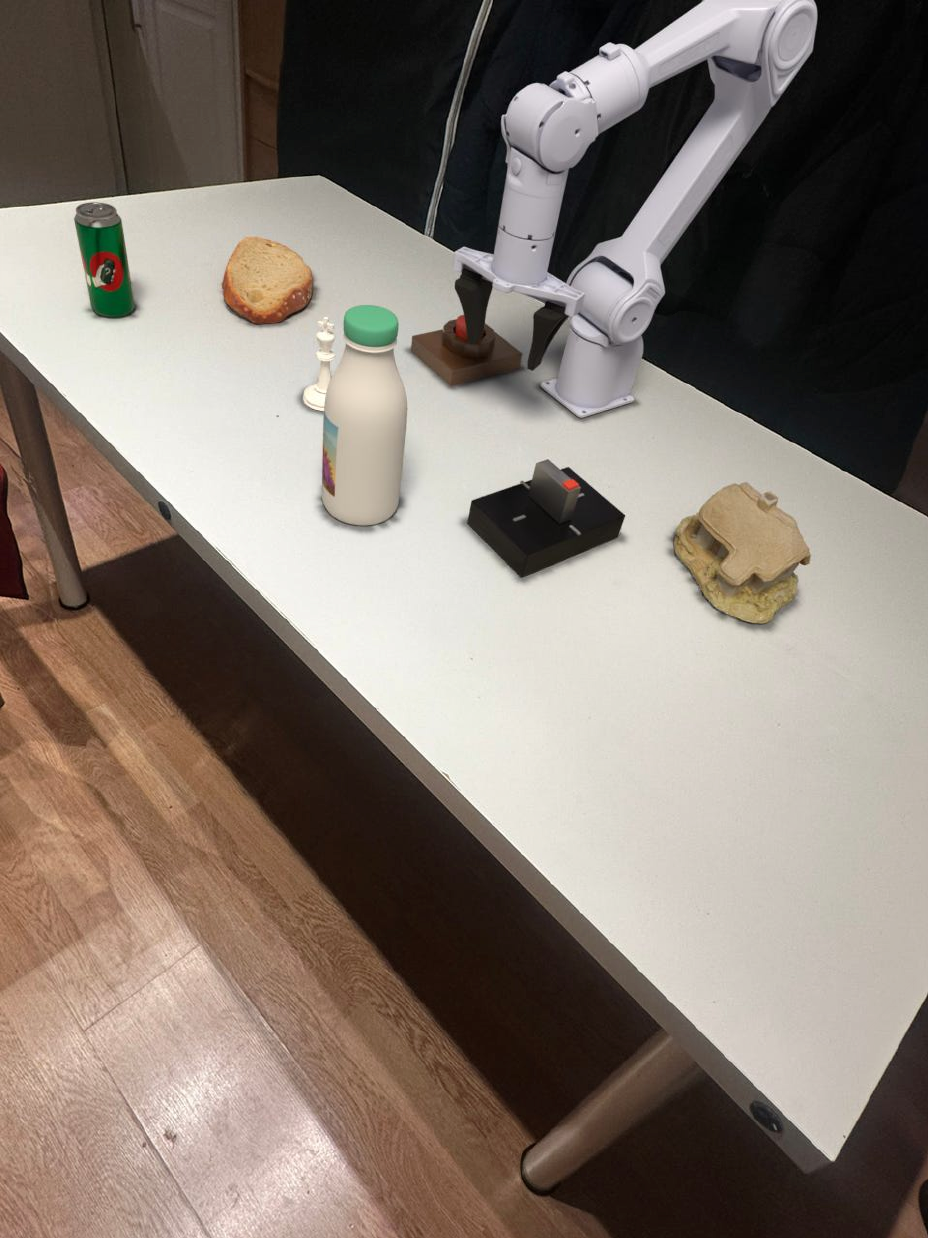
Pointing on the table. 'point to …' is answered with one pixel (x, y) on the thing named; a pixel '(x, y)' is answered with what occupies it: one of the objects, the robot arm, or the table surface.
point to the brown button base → (465, 354)
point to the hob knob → (554, 491)
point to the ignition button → (462, 327)
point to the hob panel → (542, 526)
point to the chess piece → (321, 367)
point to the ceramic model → (743, 552)
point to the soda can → (104, 259)
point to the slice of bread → (266, 281)
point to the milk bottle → (364, 421)
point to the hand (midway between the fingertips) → (503, 353)
